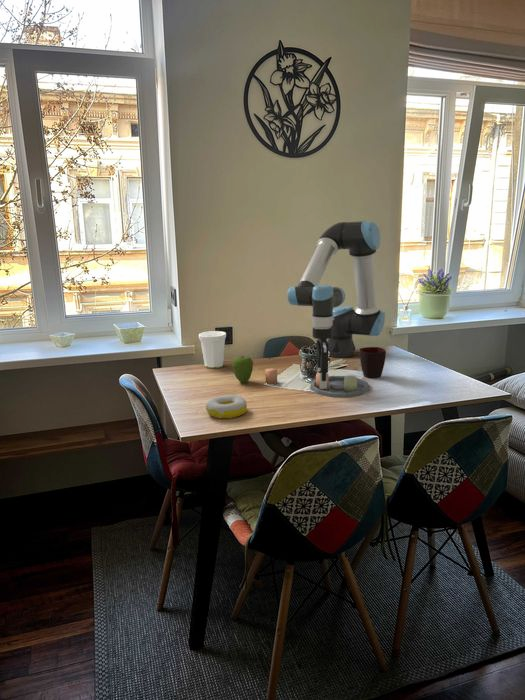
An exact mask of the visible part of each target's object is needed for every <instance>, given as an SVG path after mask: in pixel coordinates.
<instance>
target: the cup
mask: <svg viewBox="0 0 525 700" xmlns="http://www.w3.org/2000/svg"><path fill="white" fill-rule="evenodd" d="M226 337H227V333H226V332H225V331H222V330H221V331H220V330H212V331H211V330H209V331H203V332H200V333H199V334H198V339H199V341H200V345H201V352H202V356H203V357H202V358H203V363H204V367H205V366H208V367H221V366H222V367H224V359H225V342H226ZM222 367H221V368H222Z"/></svg>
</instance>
